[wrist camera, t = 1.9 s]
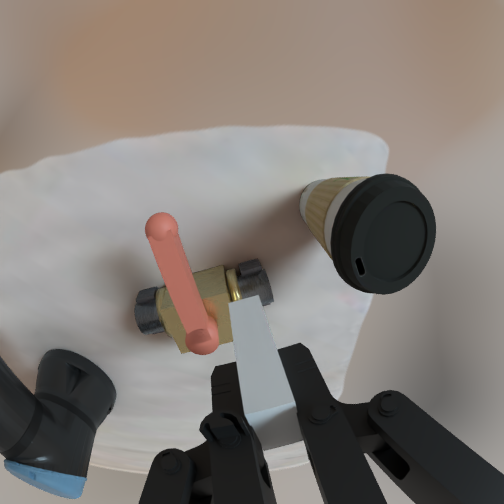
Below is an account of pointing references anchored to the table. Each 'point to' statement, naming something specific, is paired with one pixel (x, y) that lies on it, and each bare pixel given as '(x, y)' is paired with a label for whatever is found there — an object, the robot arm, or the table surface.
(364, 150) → the table surface
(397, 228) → the coffee cup
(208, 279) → the pipe run
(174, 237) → the lever
